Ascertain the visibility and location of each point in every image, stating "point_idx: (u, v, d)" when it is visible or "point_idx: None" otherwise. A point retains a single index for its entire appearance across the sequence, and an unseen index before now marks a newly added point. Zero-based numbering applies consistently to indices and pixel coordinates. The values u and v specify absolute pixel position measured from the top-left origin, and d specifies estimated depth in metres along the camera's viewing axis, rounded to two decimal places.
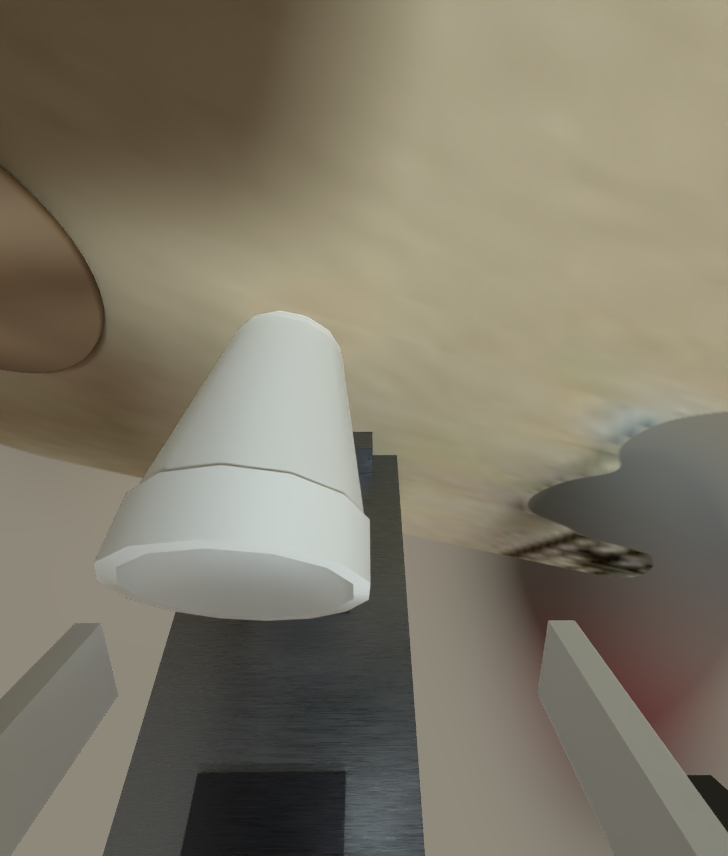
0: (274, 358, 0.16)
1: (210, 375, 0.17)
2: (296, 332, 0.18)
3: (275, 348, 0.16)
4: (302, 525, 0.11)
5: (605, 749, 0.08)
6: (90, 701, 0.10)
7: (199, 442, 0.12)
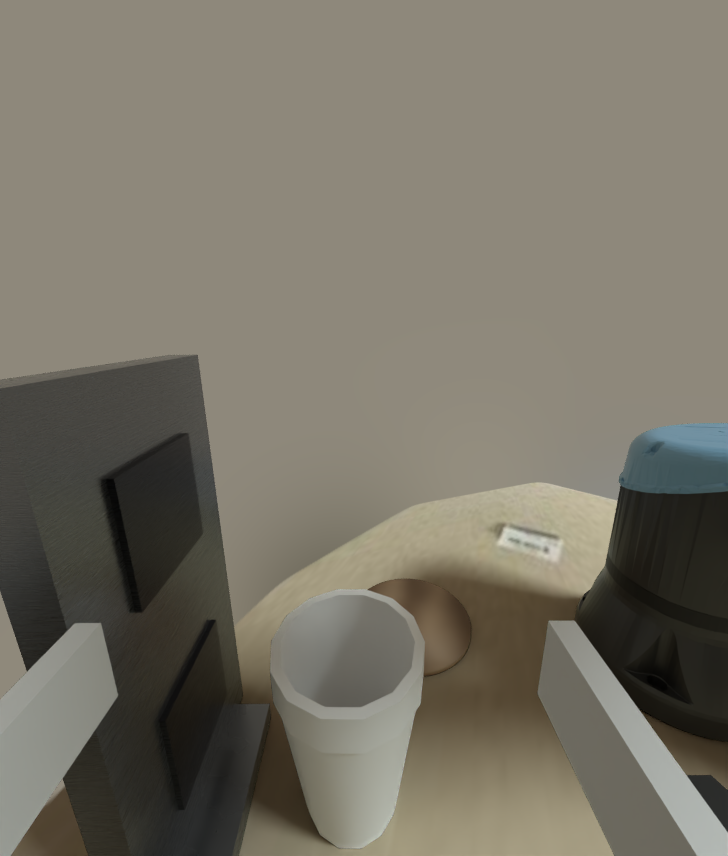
0: None
1: None
2: None
3: None
4: (415, 691, 0.20)
5: (605, 749, 0.08)
6: (90, 701, 0.10)
7: None
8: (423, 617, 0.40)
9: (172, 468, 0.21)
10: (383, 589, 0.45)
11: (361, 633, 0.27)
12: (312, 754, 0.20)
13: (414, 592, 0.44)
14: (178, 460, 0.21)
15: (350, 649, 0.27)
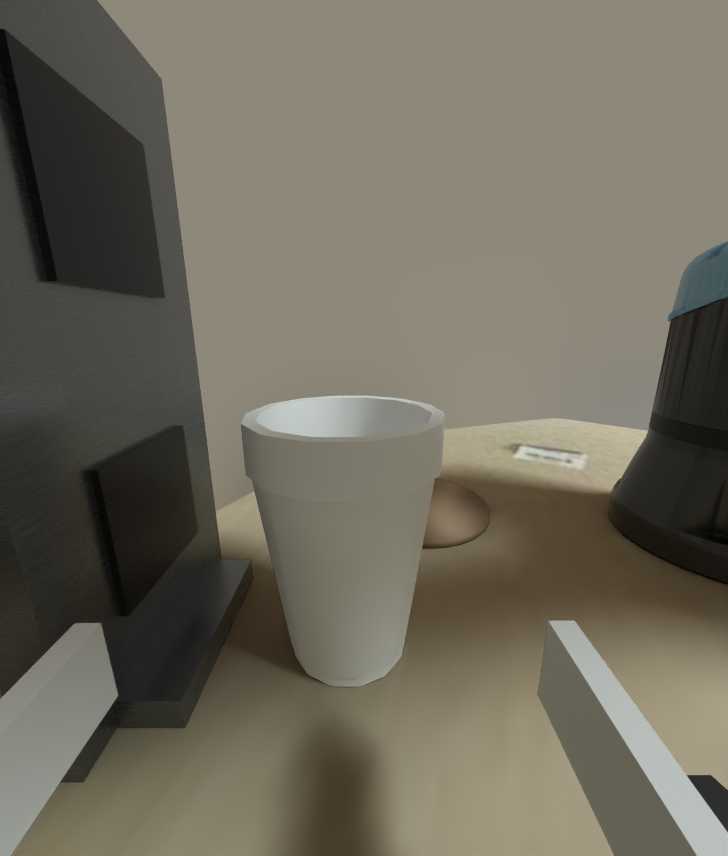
0: None
1: None
2: None
3: None
4: (434, 445, 0.15)
5: (606, 750, 0.08)
6: (90, 701, 0.10)
7: None
8: (433, 503, 0.35)
9: (116, 154, 0.16)
10: None
11: None
12: (295, 521, 0.15)
13: None
14: (126, 157, 0.16)
15: None
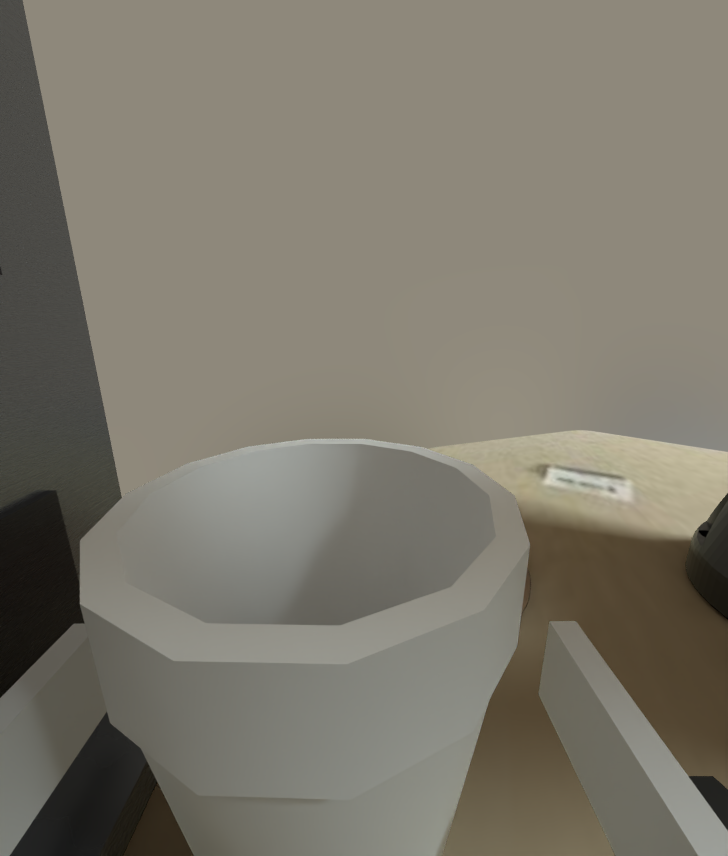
0: None
1: None
2: None
3: None
4: (514, 599, 0.07)
5: (607, 750, 0.08)
6: (89, 702, 0.10)
7: None
8: None
9: None
10: None
11: (355, 527, 0.13)
12: (186, 792, 0.06)
13: None
14: None
15: (333, 563, 0.14)
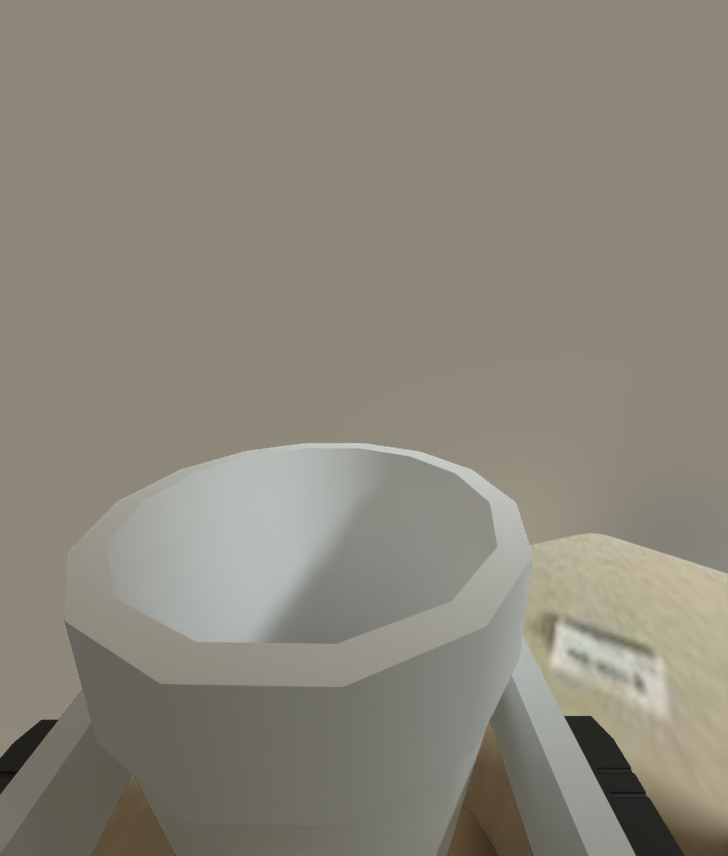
0: None
1: None
2: None
3: None
4: (516, 611, 0.06)
5: (507, 698, 0.09)
6: None
7: None
8: None
9: None
10: None
11: (353, 533, 0.13)
12: (176, 815, 0.06)
13: None
14: None
15: (331, 569, 0.13)
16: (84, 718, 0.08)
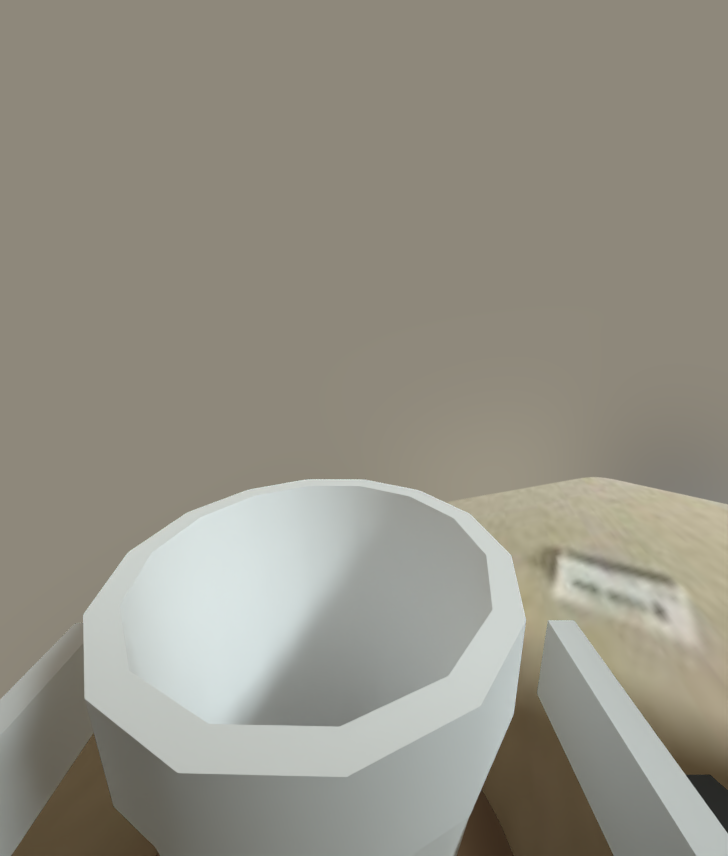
0: None
1: None
2: None
3: None
4: (510, 676, 0.07)
5: (604, 748, 0.08)
6: None
7: None
8: None
9: None
10: None
11: (354, 567, 0.13)
12: None
13: None
14: None
15: (332, 602, 0.14)
16: None
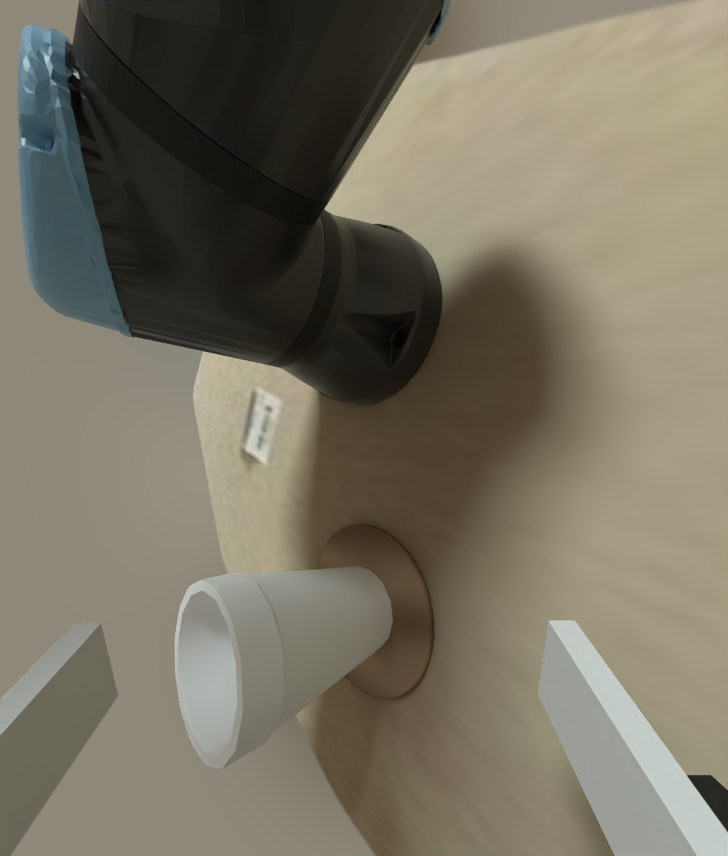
0: (321, 570, 0.27)
1: None
2: (351, 570, 0.29)
3: (328, 569, 0.28)
4: (234, 594, 0.21)
5: (605, 749, 0.08)
6: (90, 701, 0.10)
7: None
8: None
9: None
10: None
11: (226, 628, 0.26)
12: (297, 691, 0.20)
13: None
14: None
15: None
16: None
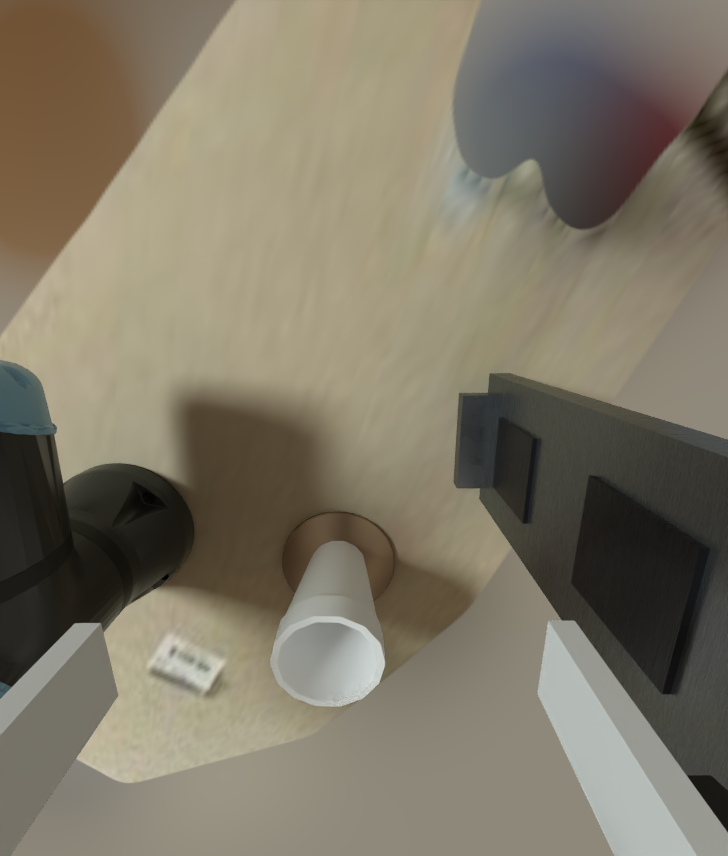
0: None
1: None
2: None
3: None
4: (281, 629, 0.30)
5: (605, 749, 0.08)
6: (90, 701, 0.10)
7: None
8: None
9: (648, 622, 0.16)
10: None
11: (323, 665, 0.34)
12: (351, 592, 0.32)
13: None
14: (648, 639, 0.16)
15: (333, 651, 0.35)
16: None
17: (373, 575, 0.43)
